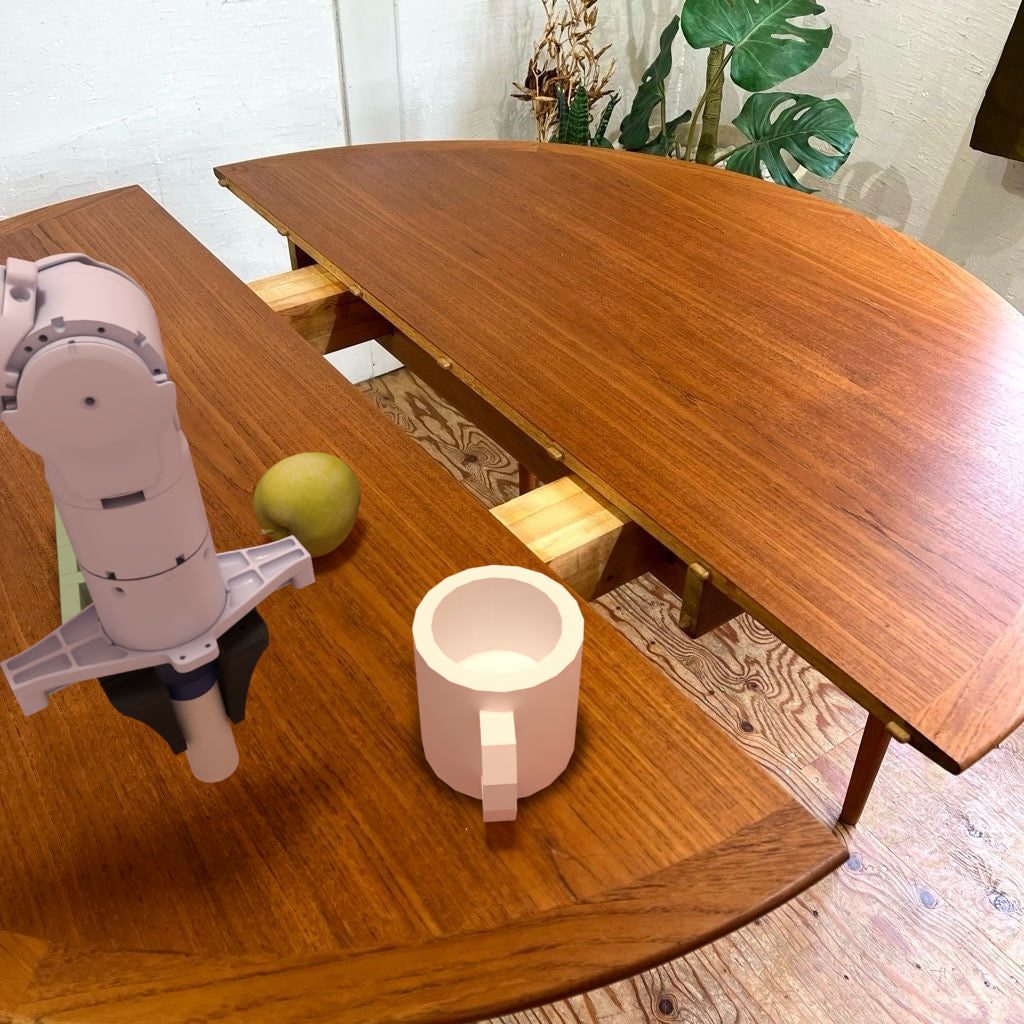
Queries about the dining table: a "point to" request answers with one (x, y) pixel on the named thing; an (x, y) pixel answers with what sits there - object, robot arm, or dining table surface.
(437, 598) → the mug
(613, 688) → the dining table surface
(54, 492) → the robot arm
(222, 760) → the test tube
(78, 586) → the tube rack
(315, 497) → the apple
